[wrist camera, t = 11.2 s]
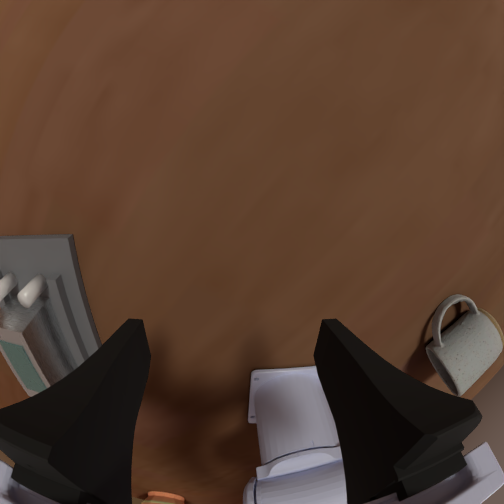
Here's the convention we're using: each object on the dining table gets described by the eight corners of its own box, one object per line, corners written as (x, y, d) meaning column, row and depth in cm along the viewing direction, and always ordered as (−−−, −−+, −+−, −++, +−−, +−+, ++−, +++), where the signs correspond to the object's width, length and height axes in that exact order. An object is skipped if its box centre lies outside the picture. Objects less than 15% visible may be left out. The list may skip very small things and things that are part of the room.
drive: (79, 370, 23) (63, 407, 18) (46, 363, 22) (28, 396, 17) (49, 297, 19) (21, 333, 14) (14, 293, 18) (-14, 325, 14)
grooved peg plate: (125, 401, 26) (118, 427, 22) (44, 384, 25) (34, 405, 21) (72, 234, 18) (47, 255, 14) (-17, 236, 17) (-40, 253, 13)
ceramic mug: (476, 325, 27) (508, 360, 19) (430, 365, 28) (458, 406, 21) (466, 273, 23) (512, 311, 16) (412, 322, 24) (450, 372, 17)
